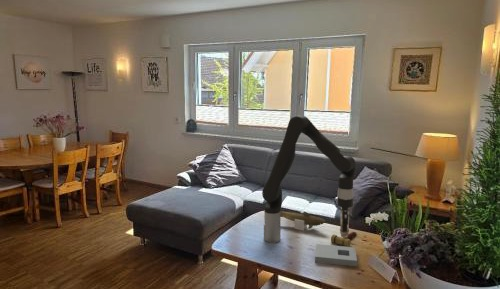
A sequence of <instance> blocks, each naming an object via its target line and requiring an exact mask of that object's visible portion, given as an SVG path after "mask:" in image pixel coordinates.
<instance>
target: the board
mask: <svg viewBox="0 0 500 289" xmlns="http://www.w3.org/2000/svg"><path fill="white" fill-rule="evenodd" d="M355 247H356V246H355ZM355 247H353V246H350V247H344V246H343V245H333V244H332V245H329V244H322V243H321V244H320V243H315V255H314V263H319V264H321V263H322V264H328V265H330V264H331V265H338V266H347V265H348V266H349V267H358V258H357V254H356V248H355Z"/></svg>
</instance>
